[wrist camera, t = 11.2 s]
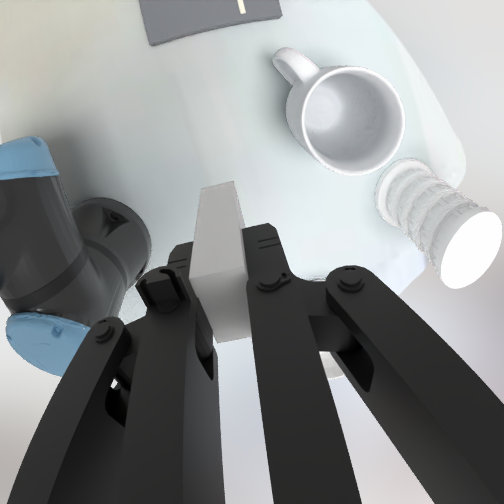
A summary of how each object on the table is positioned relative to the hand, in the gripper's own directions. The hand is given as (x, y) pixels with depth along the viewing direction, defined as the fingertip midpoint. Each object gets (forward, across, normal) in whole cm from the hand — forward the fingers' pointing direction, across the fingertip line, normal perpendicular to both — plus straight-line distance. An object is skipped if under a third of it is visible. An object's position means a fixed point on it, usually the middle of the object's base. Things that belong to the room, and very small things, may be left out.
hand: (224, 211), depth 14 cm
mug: (+27, +12, +1) cm, 29 cm away
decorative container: (+27, +26, -15) cm, 40 cm away
